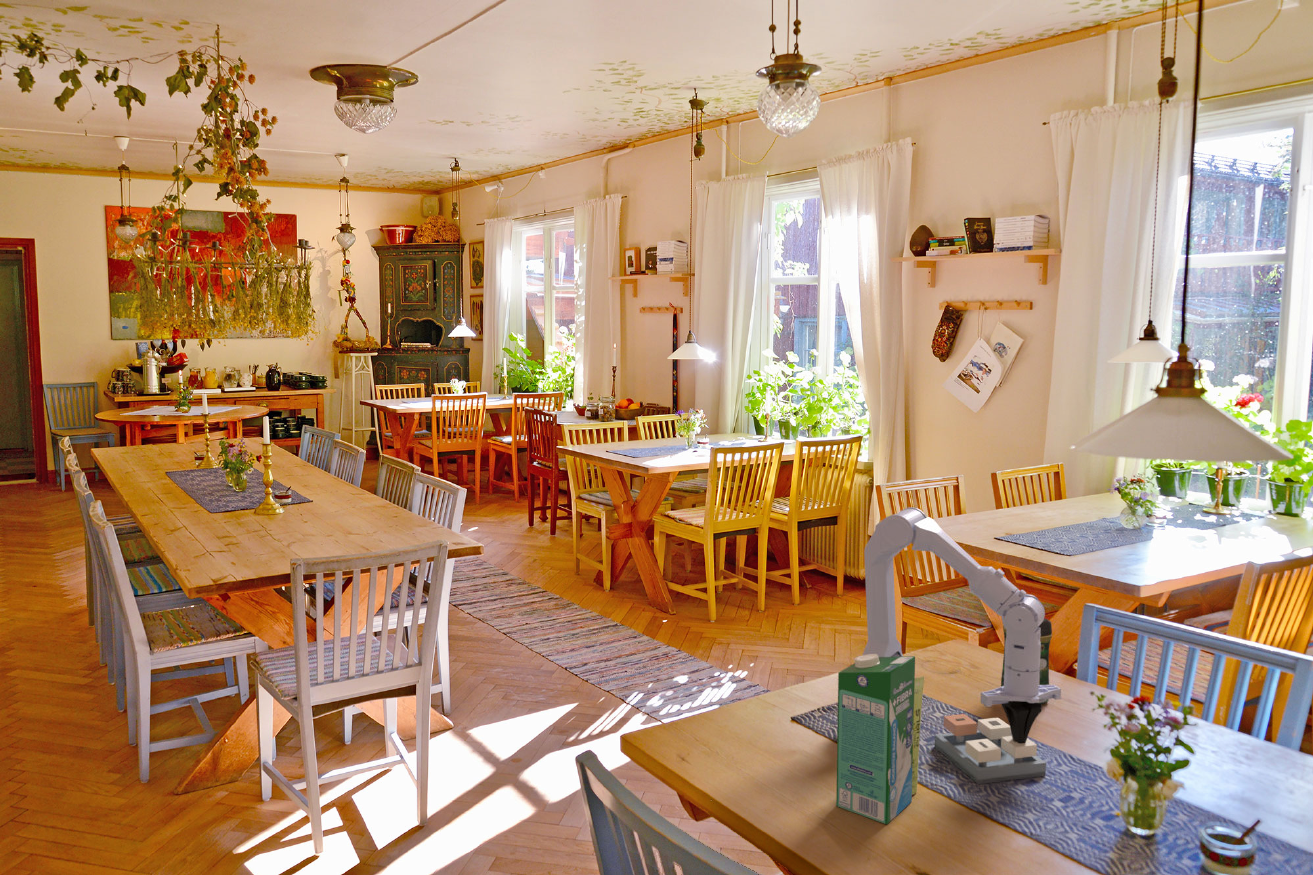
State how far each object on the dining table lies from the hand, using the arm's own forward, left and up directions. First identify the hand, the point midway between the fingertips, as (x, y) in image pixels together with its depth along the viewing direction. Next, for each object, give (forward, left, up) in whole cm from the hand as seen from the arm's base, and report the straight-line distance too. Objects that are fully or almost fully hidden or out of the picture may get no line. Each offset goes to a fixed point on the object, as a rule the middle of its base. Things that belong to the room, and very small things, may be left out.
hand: (1019, 740), depth 160 cm
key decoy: (-7, +8, -3) cm, 11 cm away
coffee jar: (+20, +28, -5) cm, 34 cm away
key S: (-7, 0, -4) cm, 8 cm away
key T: (0, 0, -4) cm, 4 cm away
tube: (-24, -2, -5) cm, 24 cm away
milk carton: (-30, -6, -5) cm, 31 cm away
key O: (0, +8, -4) cm, 8 cm away
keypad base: (-4, +4, -5) cm, 7 cm away
